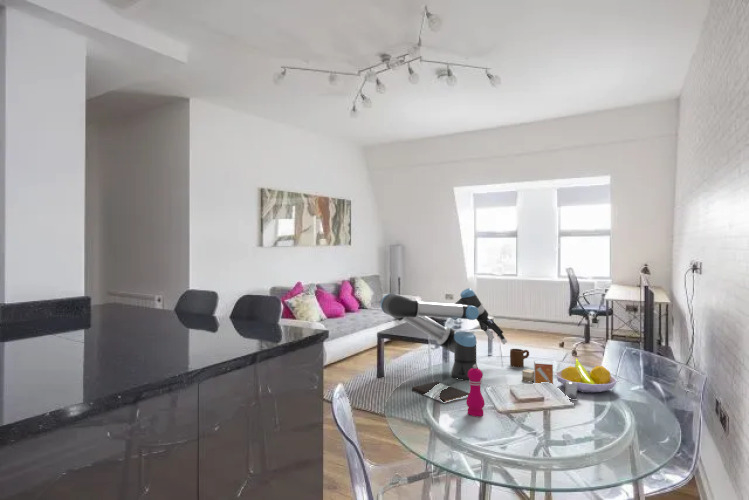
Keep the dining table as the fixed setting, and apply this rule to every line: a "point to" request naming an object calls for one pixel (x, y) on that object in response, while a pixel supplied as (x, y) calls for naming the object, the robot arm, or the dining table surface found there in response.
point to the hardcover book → (445, 394)
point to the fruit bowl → (587, 378)
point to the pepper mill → (475, 392)
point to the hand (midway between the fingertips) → (498, 341)
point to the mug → (518, 357)
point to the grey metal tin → (571, 389)
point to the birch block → (528, 375)
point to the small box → (543, 372)
